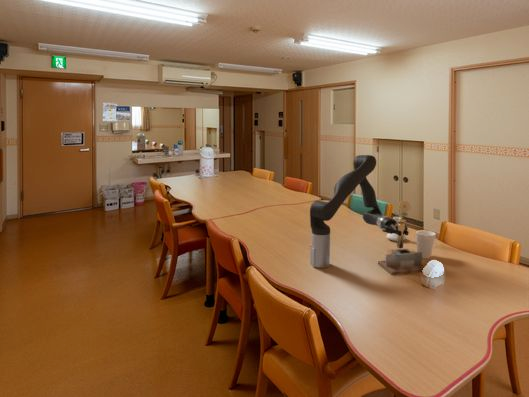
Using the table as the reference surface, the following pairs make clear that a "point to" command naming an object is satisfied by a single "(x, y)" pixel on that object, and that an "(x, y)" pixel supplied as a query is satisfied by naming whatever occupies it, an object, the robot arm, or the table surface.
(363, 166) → the robot arm
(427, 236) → the foam cup
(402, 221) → the brass capped peg
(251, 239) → the table surface
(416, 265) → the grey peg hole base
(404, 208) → the flower in vase
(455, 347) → the table surface
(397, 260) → the grey winged socket holder
